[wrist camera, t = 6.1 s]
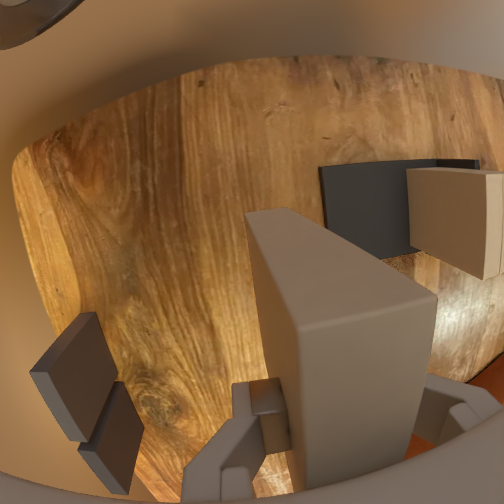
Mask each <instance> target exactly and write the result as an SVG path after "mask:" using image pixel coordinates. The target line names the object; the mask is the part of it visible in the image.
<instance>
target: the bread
mask: <svg viewBox="0 0 504 504" xmlns="http://www.w3.org/2000/svg"><path fill="white" fill-rule="evenodd" d="M468 384H469V385H473V386H477V387H480V388H484V389H486V390H487V391H488V392H489V393H490V394H491V395H492V396H493V397H494V398H495V399H496V400H497V401H498V402H499V403H500V404H501V405H502V406H503V407H504V353H503V354H502V355H501V356H500V357H499V358H497V359H496V360H495V361H494V362H493V363H492V364H491V365H490V366H489V367H488V368H486V369H485V370H484V371H483V372H482V373H480V374H479V375H478V376H477V377H475V378H474V379H473V380H472V381H471V382H469V383H468ZM435 446H436V445H434V444H432V443H430V442H428V441H426V440H424V439H422V438H420V437H418V436H417V435H415V434H413V433H412V435H411V439H410V442H409V445H408V448H407V451H406V454H405V457H404V460H403V461H405V460H407V459H410V458H412V457H414V456H417V455H419V454H421V453H424V452H426V451H428V450H430V449H432V448H435Z"/></svg>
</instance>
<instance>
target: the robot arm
mask: <svg viewBox="0 0 504 504" xmlns="http://www.w3.org/2000/svg"><path fill="white" fill-rule="evenodd" d="M26 1H28V0H0V4H2V5H3V6H8V7H10V6H15V5H19V4H21V3H24V2H26ZM231 387H232V410H233V419H228V420H227V421H226V422H225V423H224V425H223V426H222V427H221V428H220V429H219V430H218V431H217V433H216V434H215V435H214V436H213V437H212V438H211V439H210V441H209V442H208V443H207V444H206V445H205V446H204V447H203V448H202V449H201V451H200V452H199V453H198V454H197V455H196V456H195V457H194V458H193V459H192V460H191V461H190V463H189V464H188V465H187V466H186V467H185V468H184V471H183V481H182V492H181V502H180V503H165V502H145V501H133V500H123V499H114V498H106V497H100V496H93V495H88V494H82V493H76V492H72V491H67V490H63V489H58V488H54V487H50V486H46V485H42V484H39V483H35V482H31V481H28V480H25V479H22V478H19V477H16V476H13V475H9V474H7V473H4V472H1V471H0V504H504V407H503V406H502V405H501V404H500V403H499V402H498V401H497V400H496V399H495V398H494V397H493V396H492V395H491V394H490V393H489V392H488V391H487V390H486V389H484V388H480V387H477V386H473V385H469V384H465V383H462V382H458V381H454V380H451V379H447V378H444V377H440V376H437V375H433V374H430V373H427V376H426V381H425V385H424V390H423V394H422V398H421V402H420V407H419V410H418V414H417V418H416V422H415V425H414V429H413V432H412V433H413V434H415V435H417V436H418V437H420V438H422V439H424V440H426V441H428V442H430V443H432V444H434V445H436V446H435V448H432V449H430V450H428V451H426V452H424V453H421V454H419V455H417V456H414V457H412V458H410V459H407V460H405V461H402V462H400V463H397V464H394V465H392V466H389V467H386V468H383V469H380V470H378V471H375V472H372V473H369V474H366V475H362V476H359V477H356V478H352V479H349V480H345V481H342V482H338V483H334V484H330V485H326V486H322V487H318V488H314V489H309V490H304V491H299V492H294V493H289V494H283V495H277V496H270V497H263V498H257V497H256V494H255V490H254V487H253V483H252V481H253V479H254V477H255V476H256V474H257V472H258V470H259V468H260V467H261V465H262V463H263V461H264V459H265V458H266V455H268V454H274V453H279V452H284V451H289V450H292V448H291V437H290V432H289V428H290V427H289V417H288V409H287V405H286V401H285V397H284V394H283V392H282V386H281V382H280V379H279V377H275V378H268V379H261V380H254V381H249V382H248V381H247V382H239V383H232V386H231Z"/></svg>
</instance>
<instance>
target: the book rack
mask: <svg viewBox="0 0 504 504" xmlns="http://www.w3.org/2000/svg"><path fill="white" fill-rule="evenodd" d="M319 174H320V182H321V190H322V199H323V208H324V218H325V228H326V229H328V230H329V231H331V232H333V233H335V234H336V235H338V236H340V237H342V238H343V239H345V240H347V241H349V242H350V243H352V244H354V245H356V246H357V247H359V248H361V249H362V250H364V251H366V252H368V253H369V254H371V255H373V256H374V257H376V258H378V259H379V260H380V259H385V258H390V257H395V256H400V255H405V254H410V253H414V252H419V251H423V252H425V253H428V254H430V255H432V256H434V257H436V258H438V259H440V260H442V261H444V262H447V263H449V264H451V265H453V266H455V267H457V268H459V269H461V270H463V271H465V272H467V273H469V274H471V275H473V276H475V277H477V278H479V279H481V280H486V279H489V278H492V277H495V276H497V275H499V274H502V273H504V172H499V171H488V170H480V165H479V160H471V159H419V160H399V161H382V162H368V163H356V164H344V165H334V166H324V167H319Z"/></svg>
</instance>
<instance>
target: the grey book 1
mask: <svg viewBox="0 0 504 504" xmlns="http://www.w3.org/2000/svg"><path fill="white" fill-rule="evenodd" d="M29 373H30V375H31V377H32V379H33V381H34V382H35V384H36V386H37V388H38V390H39V392H40V393H41V395H42V397H43V399H44V401H45V402H46V404H47V406H48V407H49V409H50V411H51V412H52V414H53V416H54V417H55V419H56V421H57V422H58V424H59V425H60V427H61V428H62V430H63V431H64V433H65V434H66V436H67V437H68V439H69V440H70V441H78V442H88V441H89V439H90V436H91V434H92V431H93V429H94V427H95V424H96V422H97V419H98V417H99V415H100V412H101V410H102V408H103V406H104V403H105V401H106V399H107V397H108V394H109V392H110V390H111V388H112V385H113V383H114V381H115V379H116V377H117V375H118V371H117V368H116V366H115V363H114V361H113V358H112V356H111V353H110V351H109V348H108V346H107V343H106V340H105V338H104V335H103V332H102V329H101V327H100V324H99V321H98V318H97V315H96V312H89V313H80V314H79V315H78V316H77V317H76V318H75V319H74V320H73V321H72V322H71V324H70V325H69V326H68V327H67V328H66V329H65V330H64V331H63V333H62V334H61V335H60V336H59V337H58V338H57V339H56V341H55V342H54V343H53V344H52V345H51V347H50V348H49V349H48V350H47V351H46V352H45V353H44V355H43V356H42V357H41V358H40V359H39V361H38V362H37V363H36V364H35V365H34V367H33V368H32V369H31V370H30V371H29Z"/></svg>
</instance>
